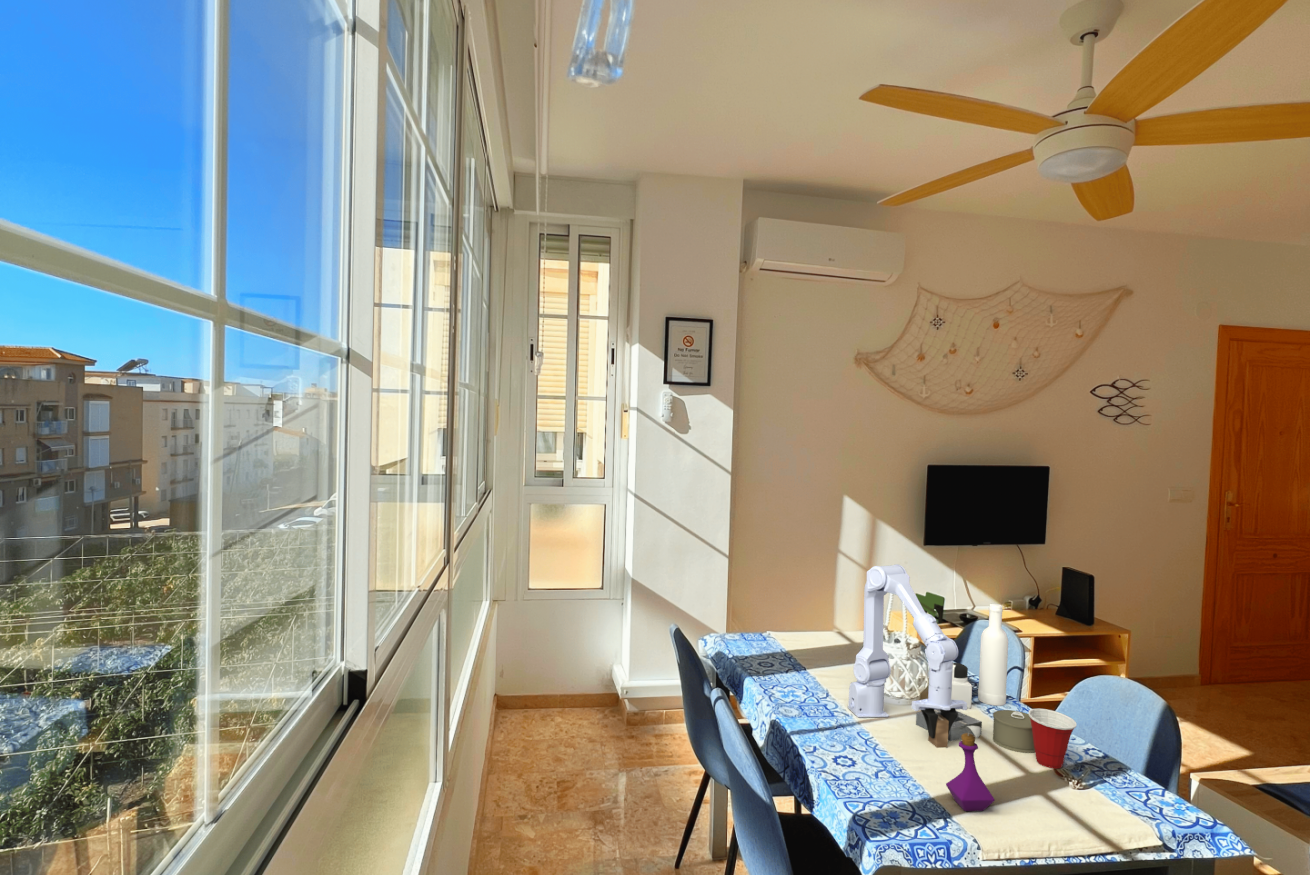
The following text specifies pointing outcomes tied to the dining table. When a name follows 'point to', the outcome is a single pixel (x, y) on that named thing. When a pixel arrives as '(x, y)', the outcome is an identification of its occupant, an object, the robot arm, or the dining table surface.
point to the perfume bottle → (970, 778)
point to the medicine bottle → (961, 684)
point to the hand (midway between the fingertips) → (938, 736)
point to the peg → (940, 733)
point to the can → (1013, 731)
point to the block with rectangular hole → (957, 726)
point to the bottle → (993, 660)
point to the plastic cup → (1050, 736)
